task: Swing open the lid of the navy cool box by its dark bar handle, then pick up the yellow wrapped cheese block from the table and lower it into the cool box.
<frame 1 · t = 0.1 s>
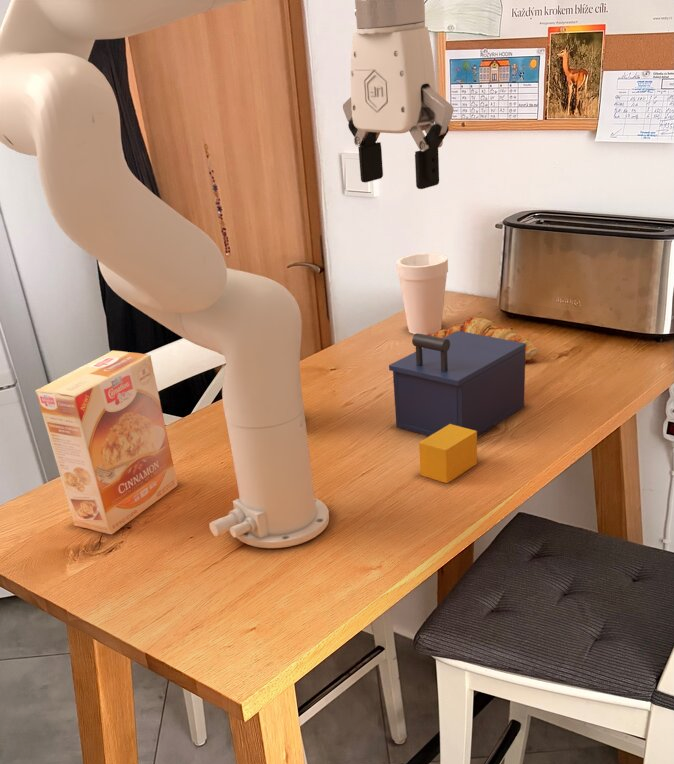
hand: (399, 183, 109), 37 cm above the table, tool pointing down, fingers open, 9 cm apart
croissant: (480, 358, 161), on the table
cool box: (460, 416, 141), on the table
lid: (457, 341, 134), point 12 cm above the table, hinge at 0.0°
foam cup: (424, 330, 176), on the table
cheese block: (448, 469, 127), on the table
coffeecake box: (128, 506, 127), on the table
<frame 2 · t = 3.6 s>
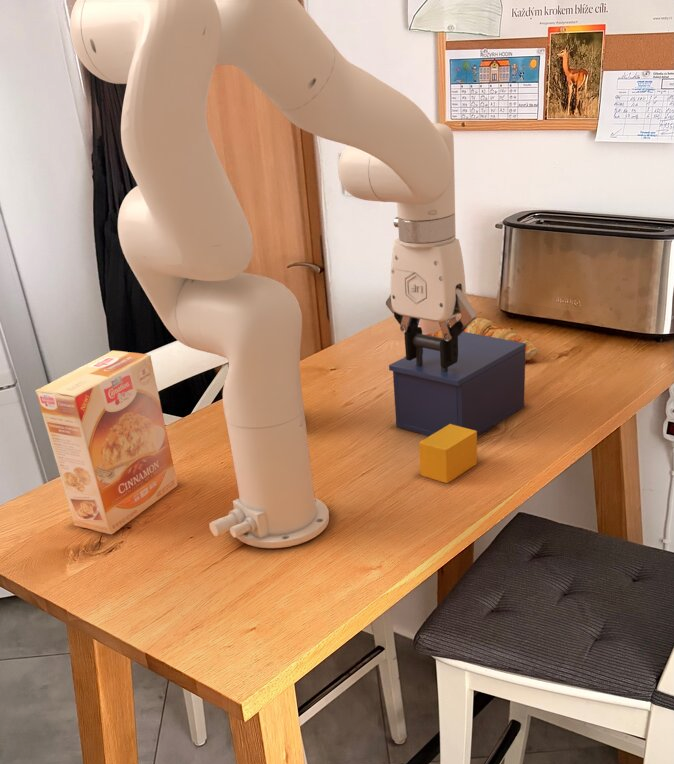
hand: (431, 360, 131), 11 cm above the table, tool pointing down, fingers closed on lid, 5 cm apart
lid: (457, 341, 134), point 12 cm above the table, hinge at 0.0°, touching gripper
everything else where it was.
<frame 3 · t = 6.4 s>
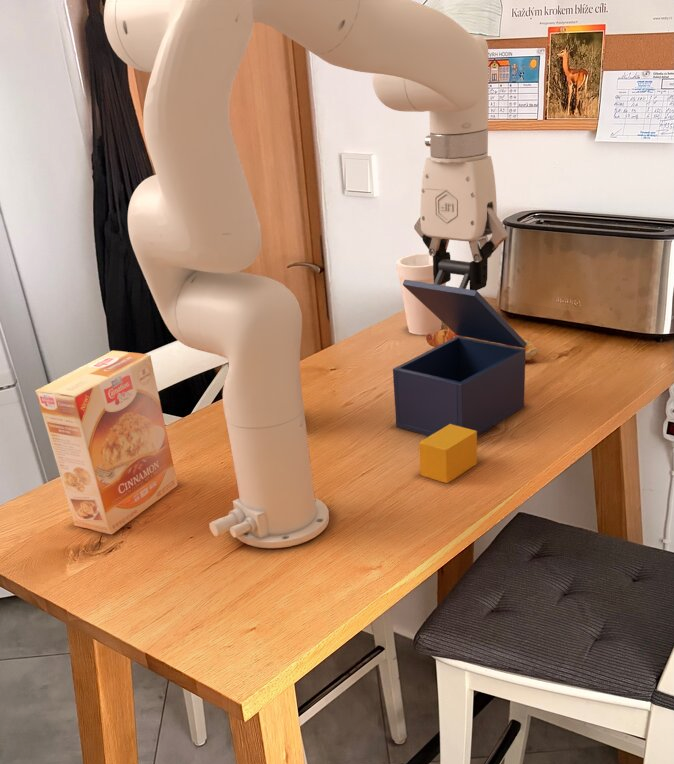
hand: (459, 284, 130), 20 cm above the table, tool pointing down, fingers closed on lid, 5 cm apart
lid: (472, 299, 133), point 17 cm above the table, hinge at 41.8°, touching gripper
everything else where it was.
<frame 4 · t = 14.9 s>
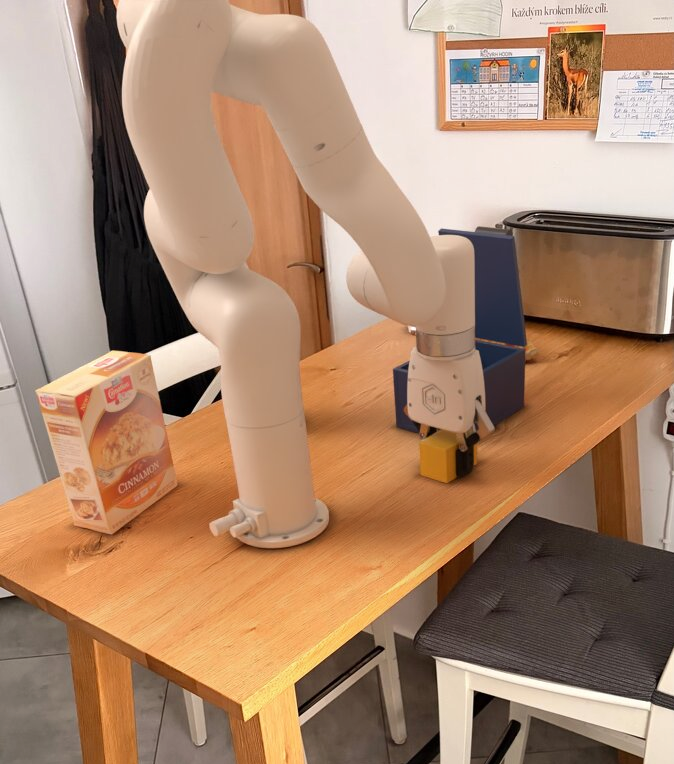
hand: (449, 467, 126), 0 cm above the table, tool pointing down, fingers closed on cheese block, 4 cm apart
lid: (492, 280, 135), point 19 cm above the table, hinge at 76.7°
cheese block: (449, 469, 127), on the table, touching gripper
everything else where it was.
when the fingers open (8 cm above the table, at t = 21.9 s): cheese block stays where it is, resting on cool box.
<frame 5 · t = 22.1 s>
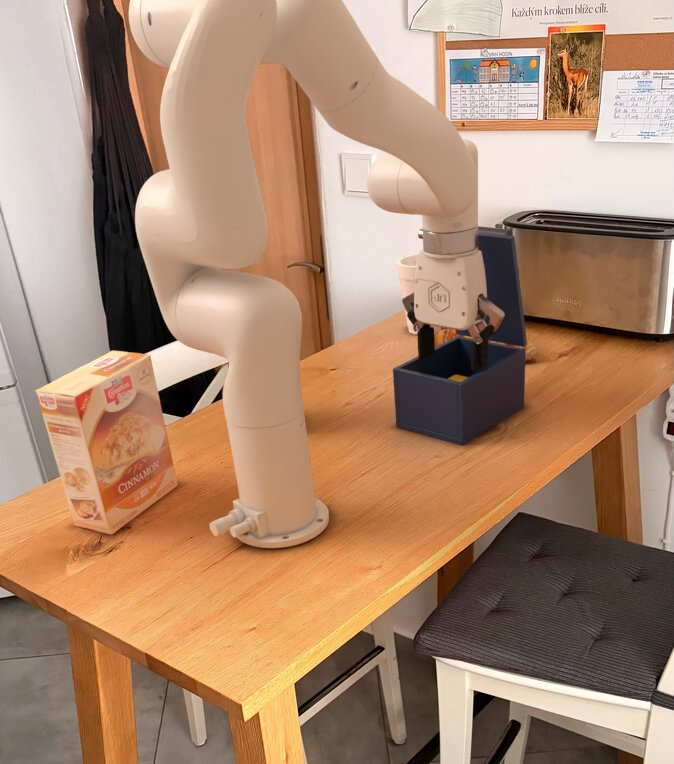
hand: (452, 361, 134), 9 cm above the table, tool pointing down, fingers open, 9 cm apart
cheese block: (454, 415, 139), point 1 cm above the table, touching cool box
everything else where it was.
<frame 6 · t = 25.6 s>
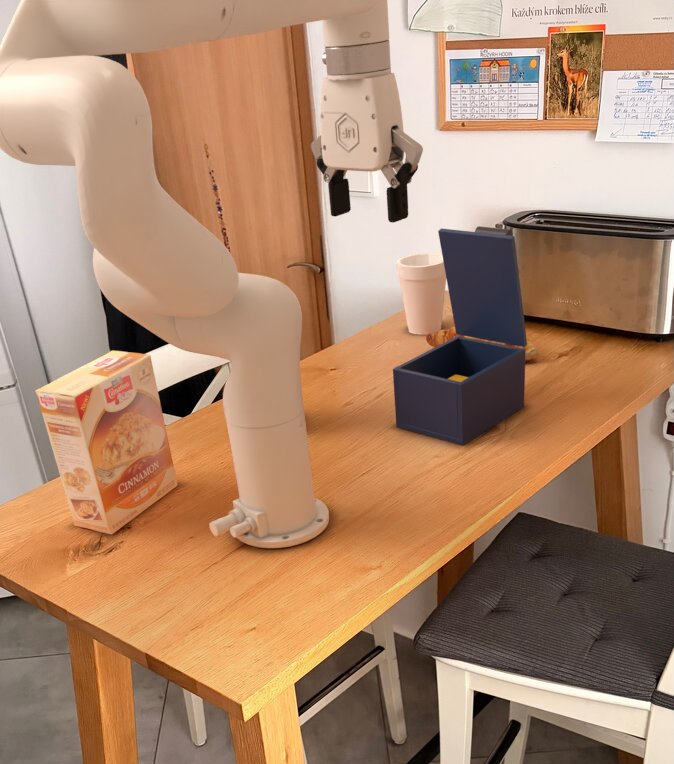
hand: (369, 216, 116), 32 cm above the table, tool pointing down, fingers open, 9 cm apart
nothing on the table moved.
at the end: lid at +77° (first picture: +0°); cheese block inside the target area in the cool box (1.5 cm from its centre), point 0.8 cm above the cool box's base; the gripper is holding nothing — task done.
